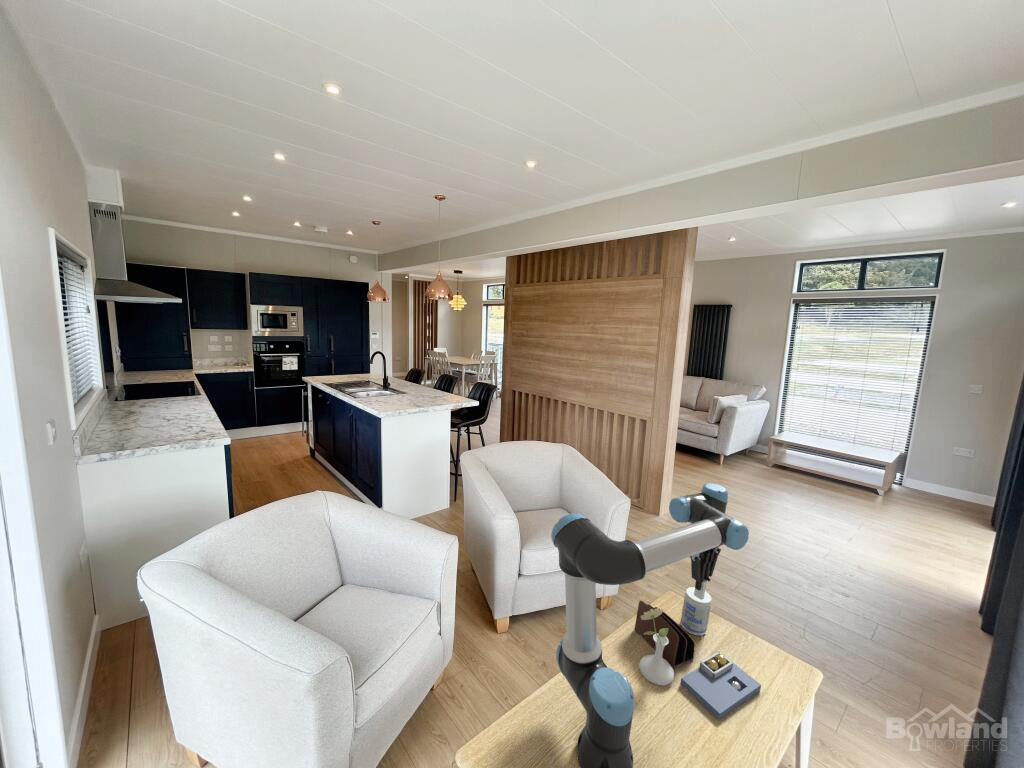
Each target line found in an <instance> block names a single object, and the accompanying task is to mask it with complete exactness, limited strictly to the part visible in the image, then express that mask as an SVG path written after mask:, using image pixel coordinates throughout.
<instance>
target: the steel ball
mask: <svg viewBox="0 0 1024 768" xmlns="http://www.w3.org/2000/svg"><path fill="white" fill-rule="evenodd" d="M731 685H732V686H733V687H734V688H735V689H737V690H738V691H739V692H740V691H742V689H741V686H740V684H739V683H738V682H736V681H732V682H731Z"/></svg>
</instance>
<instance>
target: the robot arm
mask: <svg viewBox="0 0 1024 768" xmlns="http://www.w3.org/2000/svg"><path fill="white" fill-rule="evenodd" d="M700 491H701V492H699V493H692V494H687V495H680V496H677V497H674V498H672V499H671V500H670V501H669V505H668V509H669V510H668V511H669V515H670V517H672V519H673V520H674V521H675V522H676V523H679V524H680V523H681V524H682V523H683V524H684V523H690V524H686V525H683V526H680V527H677V528H674V529H671V530H667V531H665V532H660V533H658V534H655V535H651V536H648V537H645V538H642V539H639V540H635V541H634V540H632V539H625V540H621V541H618V540H614V539H612V538H610V537H609V536H608V535H606V534H605V533H604V532H603V531H602V530H601V529H599V528H598V527H597V526H596V525H595V524H594V523H592V521H591V520H590V519H589V518H588V517H586V516H584V515H582V514H581V513H577V512H571V513H568V514H566V515H564V516H562V517H560V518H559V519H558V521H557V522H556V523H555V524H554V526H553V528H552V530H551V534H550V535H551V537H550V538H551V541H552V544H553V546H555V548H557V550H558V566H559V569H560V571H562V573H564V588H565V590H564V591H565V613H566V614H565V620H566V634H565V635H564V636H563V638H562V639H561V641H560V642H559V643H560V644H558V646H557V648H556V651H555V656H556V657H555V658H556V664H557V666H558V667H559V671H560V672H561V674H562V675H563V676H564V679H566V681H567V683H568V684H569V686H570V687H571V689H572V691H573V692H574V694H575V695H576V698H577V699H578V701H579V702H580V704H581V705H582V707H583V709H584V711H585V712H586V721H585V725H584V727H583V728H582V730H581V732H580V733H579V735H578V738H577V743H576V744H577V745H576V757H577V758H578V759H577V758H576V759H577V762H578V765H579V766H580V768H634V767H633V766H634V754H633V751H632V745H631V742H630V737H631V729H632V723H633V716H634V710H635V695H634V690H633V688H632V686H631V684H630V682H629V680H628V679H627V677H625V675H623V674H622V673H621V672H619V671H618V670H617V671H615V669H614V668H612V667H609V666H607V665H606V663H605V662H604V660H603V647H602V642H601V640H600V638H599V637H598V636H597V589H596V588H597V587H596V586H597V584H600V585H605V586H617V585H619V586H620V585H626V584H631V583H634V582H637V581H641V580H642V579H644V578H645V577H646V575H647V573H649V572H651V571H654V570H656V569H659V568H660V569H661V568H662V567H666V566H667V565H670V564H673V563H677V562H679V561H682V560H685V559H687V558H690V561H691V562H690V564H691V565H690V567H691V569H690V570H691V579H693V580H695V584H694V587H695V591H694V595H695V596H696V597H697V598H699V599H700V600H702V599H704V594H705V591H706V587H707V582H711V578H710V577H713V575H714V570H715V567H716V564H717V562H718V557H719V556H720V553H721V551H722V549H721V547H720V546H726V548H728V549H731V550H735V551H739V550H741V549H743V548H744V546H746V544H747V542H748V540H749V538H750V537H749V534H750V533H749V532H750V531H749V529H748V527H747V526H746V525H745V524H744V523H742V522H740V521H739V520H738V519H736V518H735V517H732V516H730V515H728V514H726V509H727V507H728V506H727V505H728V498H729V497H728V495H729V492H728V490H727V488H725V487H724V486H722V485H720V484H717V483H712V482H711V483H710V482H709V483H704V484H703V485H702V488H701V490H700Z"/></svg>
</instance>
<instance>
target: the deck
mask: <svg viewBox="0 0 1024 768" xmlns="http://www.w3.org/2000/svg"><path fill="white" fill-rule="evenodd" d="M718 654H721V655H723V656H724V657H725V658H726V661H727V663H726V665H725V666H723V667H721V666H719V665H718V670H717V671H715V672H713V671H712V670H711V669H710V668H709V667H707V661H708V660H709V659H713V660H715V657H716V655H718ZM732 681H736V682H738V683H739V684H740V686H741V691H740V692H739V691H738V690H737V689H735V688H734V687H733V686H732V685H731V682H732ZM679 683H680V685H681V686H682V687H683V688H684V689H685V690H686V691H687V692H688V694H690V695H691V696H692V697H693V698H695V700H697V702H699V704H701V706H703V707H704V708H705V709H706V710H707V711H708V712H709V713H710V714H711V715H712V716H713V717H714V718H715V719H716V720H718V721H720V720H722V719H723V718H724V717H726V716H727V715H729V714H730V713H731V712H733V711H734V710H736V709H737V708H738V707H740V706H742V705H743V704H744V703H745V702H747V701H748V700H750V699H751V698H753V697H754V696H755V695H757V694H758V693H759V692H760V691H761V688H762V684H761V683H760V682H758V681H757V680H756V679H755V678H753V677H752V676H751V675H749V674H748V672H746V671H744V670H743V669H742V668H741V667H740V666H738V665H737V664H735V662H733V661H732V660H731V659H729V658H728V657H727V656H725V654H723V653H721V651H717V652H716V653H714V654H712V655H710V656H708V657H706V658H704V660H701V661H700V662H699V667H697V668H696V669H693V670H692V671H690V672H689V673H686V674H685V675H684V676H681V678H680V682H679Z"/></svg>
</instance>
